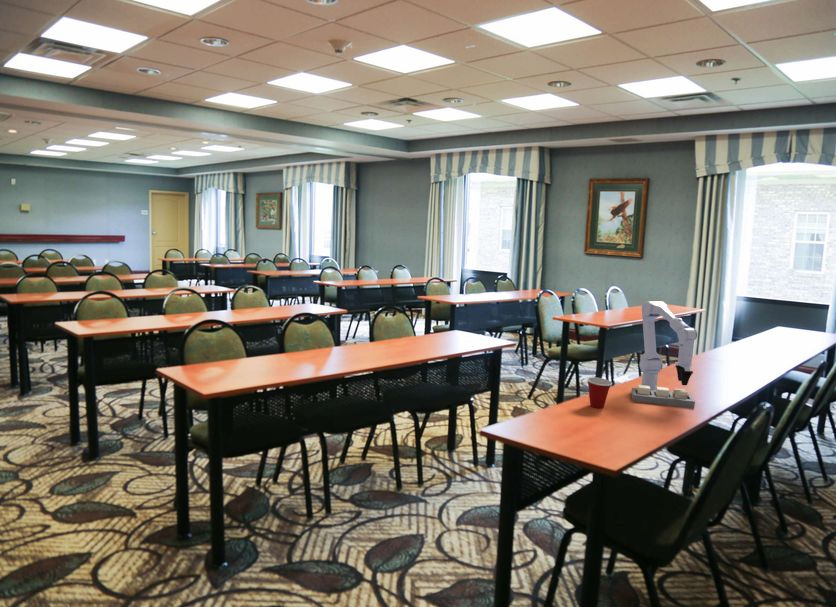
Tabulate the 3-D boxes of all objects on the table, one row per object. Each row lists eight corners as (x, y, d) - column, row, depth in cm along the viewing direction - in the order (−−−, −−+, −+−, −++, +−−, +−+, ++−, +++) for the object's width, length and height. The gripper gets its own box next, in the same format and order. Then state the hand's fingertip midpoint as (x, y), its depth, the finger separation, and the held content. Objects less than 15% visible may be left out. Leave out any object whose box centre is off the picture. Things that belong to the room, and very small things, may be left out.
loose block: (672, 398, 281) (673, 388, 281) (684, 400, 280) (685, 389, 280) (674, 401, 276) (675, 391, 276) (686, 403, 275) (687, 392, 275)
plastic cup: (605, 411, 260) (607, 384, 258) (581, 406, 266) (583, 380, 265) (613, 406, 269) (616, 380, 267) (590, 401, 275) (592, 375, 273)
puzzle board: (631, 393, 290) (632, 382, 289) (689, 400, 283) (690, 388, 282) (633, 401, 278) (634, 389, 277) (694, 408, 271) (695, 395, 270)
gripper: (673, 350, 283) (670, 378, 285) (679, 356, 269) (676, 386, 271) (689, 351, 282) (686, 379, 283) (696, 357, 268) (693, 387, 269)
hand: (682, 383), depth 277 cm, fingers open, 7 cm apart
